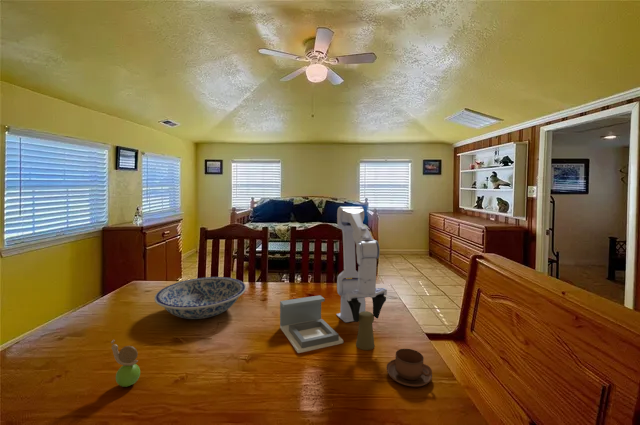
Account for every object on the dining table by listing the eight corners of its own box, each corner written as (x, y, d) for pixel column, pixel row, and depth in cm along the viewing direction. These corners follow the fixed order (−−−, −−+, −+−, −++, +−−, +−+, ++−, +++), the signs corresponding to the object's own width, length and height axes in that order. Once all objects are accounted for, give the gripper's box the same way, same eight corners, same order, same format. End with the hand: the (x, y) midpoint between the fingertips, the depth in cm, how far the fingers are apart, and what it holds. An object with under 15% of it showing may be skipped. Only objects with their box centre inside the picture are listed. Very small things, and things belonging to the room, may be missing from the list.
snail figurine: (119, 378, 82) (117, 335, 82) (144, 377, 83) (143, 334, 82) (107, 392, 77) (105, 345, 76) (134, 391, 78) (132, 345, 77)
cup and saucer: (431, 369, 89) (432, 348, 88) (432, 396, 77) (433, 372, 77) (388, 361, 93) (389, 341, 92) (383, 385, 81) (384, 363, 81)
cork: (374, 351, 98) (375, 317, 97) (355, 348, 99) (355, 315, 98) (374, 341, 104) (375, 310, 103) (356, 339, 105) (357, 308, 104)
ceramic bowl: (134, 322, 117) (133, 296, 116) (200, 293, 148) (200, 273, 147) (205, 340, 104) (205, 311, 103) (262, 304, 135) (262, 282, 135)
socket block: (319, 320, 120) (320, 295, 119) (343, 343, 103) (343, 313, 102) (280, 327, 113) (280, 301, 113) (297, 353, 96) (298, 322, 95)
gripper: (353, 284, 93) (352, 327, 94) (393, 278, 99) (391, 320, 100) (342, 277, 99) (341, 318, 101) (380, 273, 105) (379, 311, 106)
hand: (366, 318), depth 101 cm, fingers open, 7 cm apart
